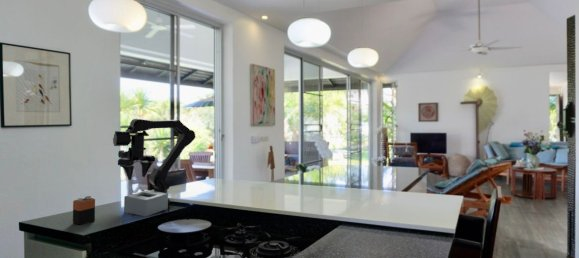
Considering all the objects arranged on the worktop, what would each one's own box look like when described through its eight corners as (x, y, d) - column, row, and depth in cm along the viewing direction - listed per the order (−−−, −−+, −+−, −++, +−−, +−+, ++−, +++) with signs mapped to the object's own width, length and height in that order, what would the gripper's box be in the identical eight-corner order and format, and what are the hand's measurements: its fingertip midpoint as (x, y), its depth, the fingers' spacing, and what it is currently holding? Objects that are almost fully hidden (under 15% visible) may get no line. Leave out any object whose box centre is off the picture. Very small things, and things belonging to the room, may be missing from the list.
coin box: (146, 205, 182) (146, 190, 182) (167, 208, 178) (168, 193, 177) (124, 212, 169) (124, 196, 168) (146, 216, 165) (146, 200, 164)
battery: (95, 221, 155) (95, 196, 154) (79, 225, 149) (79, 199, 148) (88, 219, 157) (88, 195, 156) (72, 223, 151) (72, 198, 150)
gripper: (138, 142, 194) (137, 173, 195) (108, 145, 176) (107, 179, 177) (156, 144, 190) (155, 176, 191) (128, 147, 173) (127, 182, 173)
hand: (136, 178), depth 183 cm, fingers open, 9 cm apart
